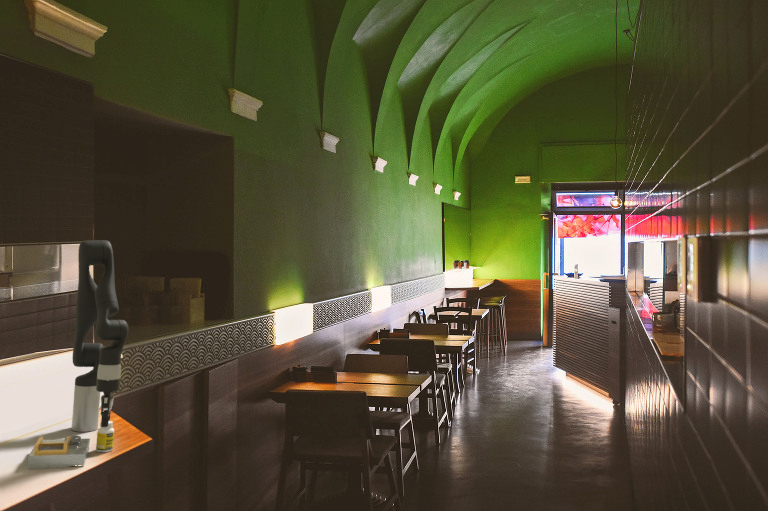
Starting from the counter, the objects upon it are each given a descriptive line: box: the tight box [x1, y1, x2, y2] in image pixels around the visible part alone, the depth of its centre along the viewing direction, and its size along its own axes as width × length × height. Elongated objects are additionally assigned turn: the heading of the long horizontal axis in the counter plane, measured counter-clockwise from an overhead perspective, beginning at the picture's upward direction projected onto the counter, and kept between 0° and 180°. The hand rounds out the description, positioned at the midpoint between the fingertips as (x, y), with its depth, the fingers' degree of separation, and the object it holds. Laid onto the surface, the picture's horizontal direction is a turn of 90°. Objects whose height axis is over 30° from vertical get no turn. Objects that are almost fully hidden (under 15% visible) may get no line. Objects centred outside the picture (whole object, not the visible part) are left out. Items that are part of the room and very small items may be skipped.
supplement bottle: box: [95, 420, 115, 453], centre depth 222 cm, size 5×5×10 cm
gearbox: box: [27, 435, 91, 470], centre depth 210 cm, size 18×16×7 cm
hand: (105, 423), depth 222 cm, fingers open, 8 cm apart
